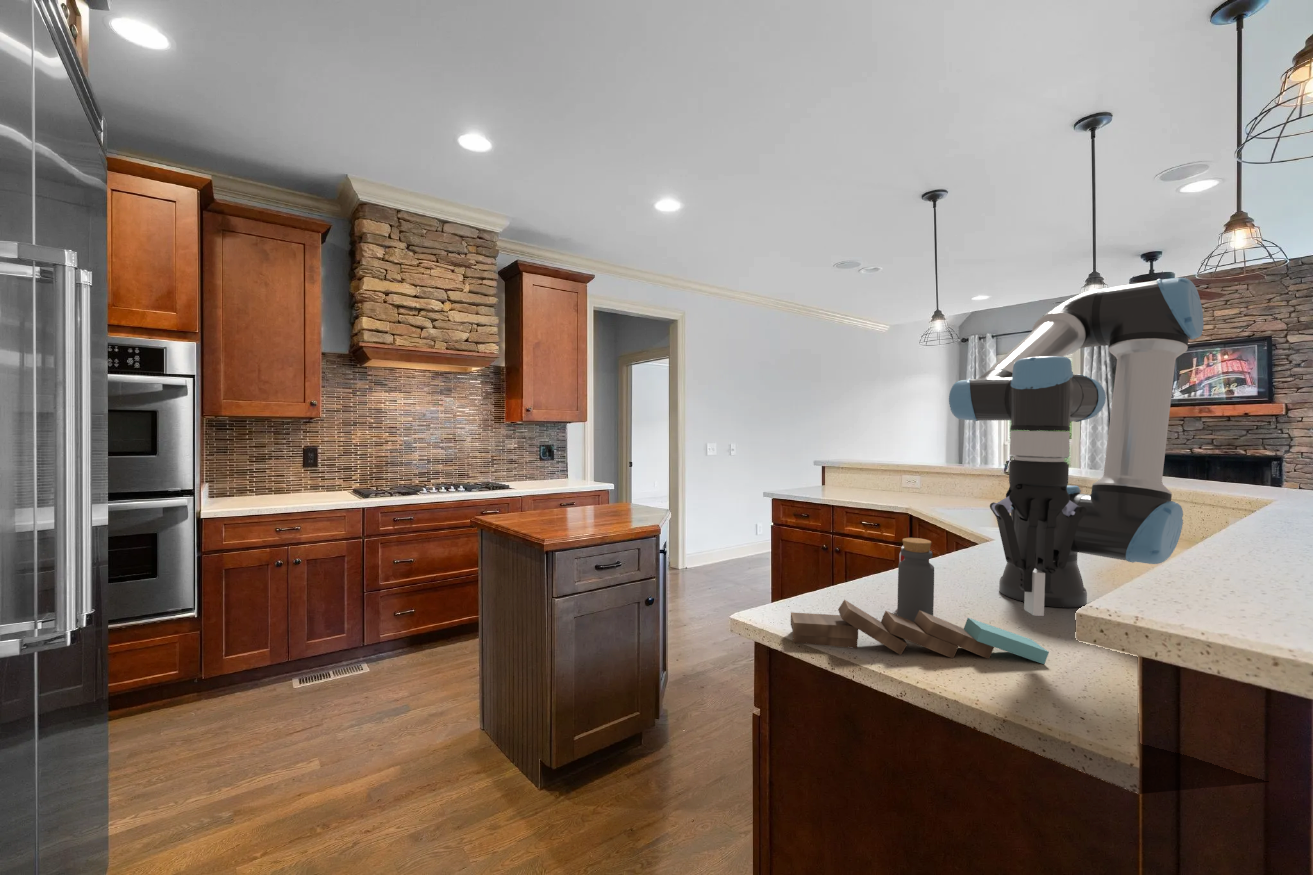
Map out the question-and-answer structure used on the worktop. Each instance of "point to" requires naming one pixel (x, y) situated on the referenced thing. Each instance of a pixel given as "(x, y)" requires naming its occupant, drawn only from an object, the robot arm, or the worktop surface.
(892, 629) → the tile
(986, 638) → the tile
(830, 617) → the tile
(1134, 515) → the robot arm
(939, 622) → the tile
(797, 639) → the tile
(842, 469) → the worktop surface
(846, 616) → the tile
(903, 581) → the bottle
